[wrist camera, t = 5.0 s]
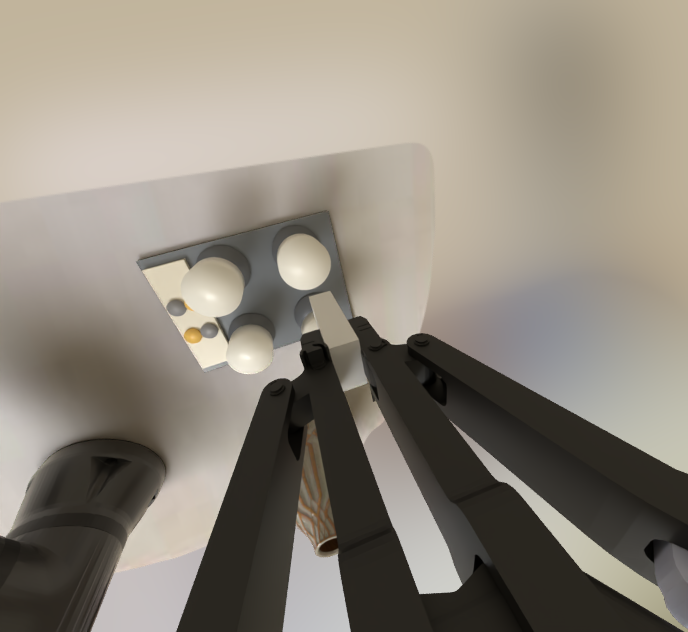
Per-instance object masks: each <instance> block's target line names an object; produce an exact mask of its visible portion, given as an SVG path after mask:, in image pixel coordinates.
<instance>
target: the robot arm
mask: <svg viewBox="0 0 688 632" xmlns="http://www.w3.org/2000/svg"><path fill="white" fill-rule="evenodd" d="M309 300H310V303H311V307H312V310H313V314H314V317H315V321H316V324H317V328H318V330H314V331H311V332H308V333H304V334H303V335H302V337H301V339H300V341H301V346H302V350H301V351H300V358H301V360H302V363H303V366H304V371H303V373H302V374H301V375H300V376H299V377H298V378H296V379H294V380H293V381H290V380H288V379H285V378H284V379H277V380H274V381H272V382H270V383H269V384H268V385H267V386H266V387H265V388H264V389H263V391H262V393H261V396H260V399H259V402H258V405H257V407H256V410H255V413H254V416H253V419H252V421H251V424H250V427H249V430H248V433H247V435H246V438H245V441H244V444H243V447H242V449H241V452H240V455H239V458H238V461H237V463H236V466H235V469H234V472H233V475H232V477H231V480H230V483H229V486H228V489H227V491H226V494H225V497H224V500H223V503H222V505H221V508H220V511H219V514H218V517H217V519H216V522H215V525H214V528H213V531H212V533H211V536H210V539H209V542H208V544H207V547H206V550H205V553H204V556H203V559H202V561H201V564H200V567H199V570H198V572H197V575H196V578H195V581H194V584H193V586H192V589H191V592H190V595H189V598H188V601H187V604H186V606H185V609H184V612H183V614H182V617H181V620H180V623H179V626H178V628H177V631H176V632H282V630H283V622H284V614H285V605H286V598H287V590H288V582H289V574H290V566H291V558H292V550H293V542H294V533H295V526H296V518H297V510H298V502H299V494H300V486H301V478H302V470H303V462H304V454H305V446H306V438H307V430H308V425H307V424H308V423H309V422H311V421H312V420H314V421H315V426H316V432H317V437H318V442H319V447H320V453H321V458H322V463H323V468H324V474H325V479H326V484H327V489H328V494H329V500H330V505H331V510H332V515H333V521H334V526H335V531H336V536H337V542H338V549H339V550H338V561H339V568H340V574H341V580H342V585H343V591H344V596H345V602H346V607H347V613H348V618H349V623H350V629H351V632H684V631H682V630H680V629H678V628H677V627H675V626H674V625H672V624H670V623H669V622H667V621H665V620H664V619H662V618H660V617H658V616H657V615H655V614H654V613H652V612H650V611H649V610H647V609H645V608H644V607H642V606H640V605H638V604H637V603H635V602H634V601H632V600H630V599H629V598H627V597H625V596H623V595H622V594H620V593H618V592H617V591H615V590H613V589H612V588H610V587H608V586H607V585H605V584H603V583H602V582H600V581H598V580H597V579H595V578H593V577H592V576H590V575H588V574H587V573H585V572H583V571H582V570H581V569H580V568H579V566H578V565H577V564H576V563H575V562H574V560H573V559H572V558H571V557H570V555H569V554H568V553H567V552H566V550H565V549H564V548H563V547H562V546H561V544H560V543H559V542H558V541H557V539H556V538H555V537H554V536H553V535H552V533H551V532H550V531H549V530H548V529H547V527H546V526H545V525H544V523H543V522H542V521H541V520H540V519H539V517H538V516H537V515H536V514H535V513H534V511H533V510H532V509H531V508H530V506H529V505H528V504H527V503H526V501H525V500H524V499H523V498H522V497H521V496H520V495H519V493H518V492H517V491H516V490H515V489H514V488H513V487H511V486H510V485H508V484H507V483H504V482H499V481H497V480H496V479H495V478H494V477H493V476H492V475H491V473H490V472H489V471H488V470H487V468H486V467H485V466H484V465H483V463H482V462H481V461H480V459H479V458H478V457H477V455H476V454H475V453H474V452H473V450H472V449H471V448H470V446H469V445H468V444H467V442H466V441H465V440H464V439H463V437H462V436H461V435H460V433H459V432H458V431H457V430H456V428H455V427H454V426H453V424H452V423H451V422H450V421H452V422H453V423H454V424H455V425H456V426H458V427H459V428H460V429H461V430H462V431H464V432H465V433H466V434H467V435H468V436H469V437H471V438H472V439H473V440H474V441H475V442H477V443H478V444H479V445H480V446H481V447H483V448H484V449H485V450H486V451H487V452H488V453H490V454H491V455H492V456H493V457H494V458H495V459H497V460H498V461H499V462H500V463H501V464H503V465H504V466H505V467H506V468H507V469H508V470H510V471H511V472H512V473H513V474H514V475H516V476H517V477H518V478H519V479H520V480H521V481H523V482H524V483H525V484H526V485H527V486H529V487H530V488H531V489H532V490H533V491H534V492H536V493H537V494H538V495H539V496H540V497H542V498H543V499H544V500H545V501H546V502H547V503H549V504H550V505H551V506H552V507H553V508H555V509H556V510H557V511H558V512H559V513H560V514H562V515H563V516H564V517H565V518H566V519H568V520H569V521H570V522H571V523H572V524H574V525H575V526H576V527H577V528H578V529H580V530H581V531H582V532H583V533H584V534H585V535H587V536H588V537H589V538H590V539H592V540H593V541H594V542H595V543H597V544H598V545H599V546H601V547H602V548H603V549H604V550H605V551H607V552H608V553H609V554H611V555H612V556H613V557H615V558H616V559H618V560H619V561H621V562H622V563H623V564H625V565H627V566H628V567H629V568H631V569H632V570H633V571H635V572H636V573H638V574H639V575H641V576H642V577H644V578H646V579H647V580H649V581H650V582H652V583H654V584H655V585H657V586H658V587H659V588H660V590H661V592H662V594H663V596H664V600H665V604H666V607H667V608H668V610H669V611H670V613H671V614H672V616H673V617H674V618H675V619H676V620H677V621H678V622H679V623H681V624H682V625H683V626H684V627H686V628H687V629H688V474H687V473H684V472H681V471H679V470H676V469H674V468H672V467H670V466H669V465H667V464H665V463H663V462H661V461H660V460H658V459H656V458H654V457H652V456H650V455H649V454H647V453H645V452H643V451H641V450H639V449H638V448H636V447H634V446H632V445H630V444H629V443H626V442H625V441H623V440H621V439H619V438H618V437H616V436H614V435H612V434H610V433H608V432H607V431H605V430H603V429H601V428H599V427H598V426H596V425H594V424H592V423H590V422H588V421H587V420H584V419H583V418H581V417H579V416H578V415H576V414H574V413H572V412H570V411H568V410H567V409H565V408H563V407H561V406H559V405H558V404H556V403H554V402H552V401H550V400H548V399H547V398H544V397H543V396H541V395H539V394H537V393H536V392H534V391H532V390H530V389H528V388H526V387H525V386H523V385H521V384H519V383H517V382H516V381H514V380H512V379H510V378H508V377H506V376H505V375H503V374H501V373H499V372H497V371H496V370H494V369H492V368H490V367H488V366H486V365H484V364H483V363H481V362H479V361H477V360H476V359H474V358H472V357H470V356H468V355H466V354H465V353H462V352H461V351H459V350H457V349H455V348H453V347H452V346H450V345H448V344H446V343H445V342H443V341H441V340H439V339H437V338H435V337H434V336H432V335H429V334H423V333H420V334H415V335H412V336H410V337H409V338H408V340H407V344H402V345H391V344H390V343H389V342H388V341H387V340H385V339H382V338H380V337H379V335H378V334H377V333H376V331H375V330H374V329H373V328H372V326H371V325H370V324H369V322H368V321H367V319H365V318H363V317H361V316H359V317H355V318H352V319H349V320H347V319H346V317H345V315H344V314H343V312H342V310H341V308H340V307H339V305H338V303H337V302H336V300H335V298H334V297H333V295H332V293H331V291H327V292H324V293H320V294H317V295H313V296H310V297H309ZM366 377H367V378H366ZM367 379H368V381H369V383H370V388H371V394H372V399H373V402H374V401H375V400H376V402H377V404H378V406H379V408H380V410H381V412H382V414H383V416H384V418H385V420H386V422H387V424H388V426H389V428H390V430H391V432H392V434H393V436H394V438H395V440H396V442H397V444H398V446H399V448H400V450H401V452H402V454H403V456H404V458H405V460H406V463H407V465H408V467H409V469H410V470H411V473H412V475H413V477H414V479H415V481H416V483H417V485H418V487H419V489H420V491H421V493H422V495H423V497H424V499H425V501H426V503H427V505H428V507H429V509H430V511H431V513H432V515H433V517H434V519H435V521H436V523H437V525H438V527H439V529H440V531H441V533H442V535H443V537H444V539H445V541H446V543H447V546H448V548H449V550H450V553H451V556H452V559H453V563H454V566H455V568H456V571H457V573H458V575H459V577H460V580H461V582H462V584H463V585H462V586H461V587H460V588H459V589H458V590H457V591H455V592H450V593H433V594H419V592H418V590H417V587H416V584H415V581H414V579H413V576H412V573H411V570H410V568H409V565H408V562H407V560H406V557H405V554H404V551H403V549H402V546H401V544H400V541H399V538H398V536H397V534H396V531H395V529H394V528H393V526H392V523H391V521H390V518H389V516H388V513H387V510H386V507H385V504H384V502H383V499H382V496H381V494H380V491H379V488H378V485H377V483H376V480H375V477H374V474H373V472H372V469H371V466H370V463H369V461H368V458H367V455H366V452H365V450H364V447H363V444H362V441H361V439H360V436H359V433H358V430H357V428H356V425H355V422H354V419H353V417H352V414H351V411H350V408H349V406H348V403H347V400H346V397H345V395H344V391H347V390H350V389H353V388H356V387H359V386H362V385H365V384H368V383H367ZM449 420H450V421H449ZM164 478H165V466H164V464H163V462H162V460H161V459H160V458H159V456H158V455H156V454H155V453H154V452H153V451H151V450H149V449H148V448H146V447H143V446H141V445H138V444H135V443H131V442H127V441H121V440H92V441H85V442H81V443H77V444H73V445H70V446H68V447H65V448H63V449H61V450H59V451H57V452H56V453H54V454H53V455H51V456H50V457H49V458H48V459H47V460H46V461H45V462H44V463H43V464H42V466H41V467H40V468H39V469H38V471H37V472H36V473H35V474H34V475H33V477H32V478H31V480H30V482H29V484H28V486H27V490H26V495H25V498H24V500H23V502H22V504H21V507H20V509H19V511H18V514H17V516H16V519H15V521H14V524H13V526H12V529H11V530H10V532H9V533H8V535H7V536H6V538H5V537H3V536H0V632H91V629H92V627H93V624H94V622H95V619H96V617H97V614H98V612H99V609H100V607H101V604H102V602H103V599H104V597H105V594H106V591H107V589H108V586H109V584H110V581H111V579H112V576H113V574H114V571H115V569H116V566H117V564H118V561H119V559H120V556H121V553H122V551H123V548H124V546H125V543H126V541H127V539H128V536H129V535H130V533H131V532H132V530H133V529H134V528H135V526H136V525H137V524H138V522H139V521H140V519H141V518H142V516H143V515H144V513H145V512H146V510H147V508H148V507H149V506H150V505H151V504H152V503H153V502H154V500H155V499H156V497H157V496H158V494H159V492H160V489H161V487H162V484H163V481H164Z"/></svg>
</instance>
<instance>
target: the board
mask: <svg viewBox="0 0 688 632" xmlns="http://www.w3.org/2000/svg"><path fill="white" fill-rule="evenodd" d="M294 234H307V235H310V236H312V237H314V238H315V239H316V240H318V241H319V242H320V243H321V244H322V245H323V246H324V247H325V248H326V250H327V251H328V253H329V256H330V260H331V268H330V272H329V275H328V277H327V278H326V280H325V281H324V282H323V283H322V284H321V285H319V286H318V287H316V288H313V289H310V290H299V289H295V288H293V287H291V286H289V285H288V284H287V283H286V282H285V281H284V280H283V279H282V277H281V275H280V273H279V269H278V264H277V251H278V248H279V246H280V245H281V243H282V242H283V241H284V240H285V239H286V238H287V237H289V236H291V235H294ZM210 257H218V258H223V259H226V260H228V261H230V262H232V263H233V264H235V265H236V266H237V267H238V268H239V270H240V271H241V273H242V275H243V277H244V282H245V286H244V291H243V295H242V300H241V302H240V304H239V306H238V307H237V308H236V309H235V310H234V311H233V312H232V313H230V314H228V315H225V316H221V317H208V316H204V315H201V314H199V313H197V312H195V311H194V310H192V309H191V308H190V307H189V306H188V305H187V304H186V302H185V301H184V299H183V297H182V294H181V282H182V279H183V277H184V276H185V274H186V273H187V272H188V271H189V270H190V269H191V268H192V267H193V266H194V265H195V264H196V263H198V262H199V261H201V260H203V259H205V258H210ZM136 262H137V264H138V266H139V267H140V269H141V270H142V272H143V274H144V275H145V277H146V279H147V280H148V282H149V283H150V285H151V287H152V288H153V290H154V292H155V293H156V295H157V296H158V298H159V300H160V301H161V303H162V304H163V306H164V308H165V309H166V311H167V313H168V314H169V316H170V317H171V319H172V321H173V322H174V324H175V326H176V327H177V329H178V330H179V332H180V334H181V335H182V337H183V339H184V340H185V342H186V343H187V345H188V347H189V348H190V350H191V351H192V353H193V355H194V356H195V358H196V360H197V361H198V363H199V364H200V366H201V368H202V369H203V371H204V373H205V372H208V371H211V370H214V369H217V368H220V367H223V366H226V365H229V364H228V362H227V359H226V352H227V348H228V344H229V340H230V337H231V335H232V333H233V332H234V331H235V330H236V329H238V328H239V327H241V326H244V325H259V326H261V327H263V328H265V329H266V330H268V332H269V333H270V334H271V336H272V339H273V350H274V349H277V348H280V347H283V346H286V345H289V344H292V343H295V342H298V341H300V339H301V337H302V332H301V326H302V322H303V320H304V319H305V317H306V316H307V315H308V314H309V313H311V312H312V311H313V310H312V307H311V303H310V300H309V297H310V296H313V295H317V294H320V293H324V292H327V291H331V293H332V295H333V297H334V298H335V300H336V302H337V303H338V305H339V307H340V308H341V310H342V312H343V314H344V315H345V317H346V319H347V320H349V319H352V313H351V309H350V304H349V300H348V296H347V291H346V287H345V282H344V278H343V274H342V269H341V265H340V260H339V256H338V251H337V247H336V243H335V238H334V234H333V229H332V225H331V221H330V216H329V212H328V211H324V212H320V213H317V214H313V215H309V216H305V217H301V218H297V219H294V220H290V221H286V222H282V223H278V224H275V225H271V226H267V227H263V228H259V229H256V230H252V231H248V232H244V233H240V234H236V235H233V236H229V237H225V238H221V239H217V240H214V241H210V242H206V243H202V244H198V245H195V246H191V247H187V248H183V249H179V250H175V251H172V252H168V253H164V254H160V255H156V256H153V257H149V258H145V259H141V260H138V261H136Z"/></svg>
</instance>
